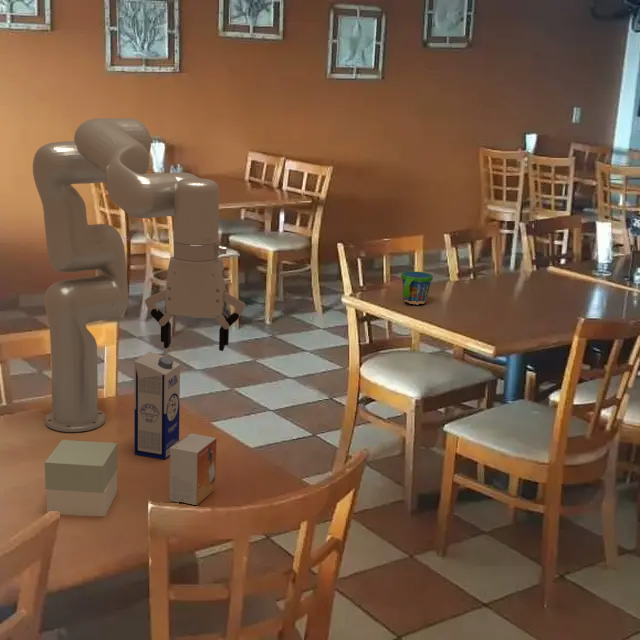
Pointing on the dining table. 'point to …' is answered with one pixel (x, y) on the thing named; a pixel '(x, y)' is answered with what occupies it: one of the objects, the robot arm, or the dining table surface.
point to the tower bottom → (82, 501)
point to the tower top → (81, 466)
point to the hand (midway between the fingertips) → (194, 347)
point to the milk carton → (156, 405)
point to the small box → (192, 469)
